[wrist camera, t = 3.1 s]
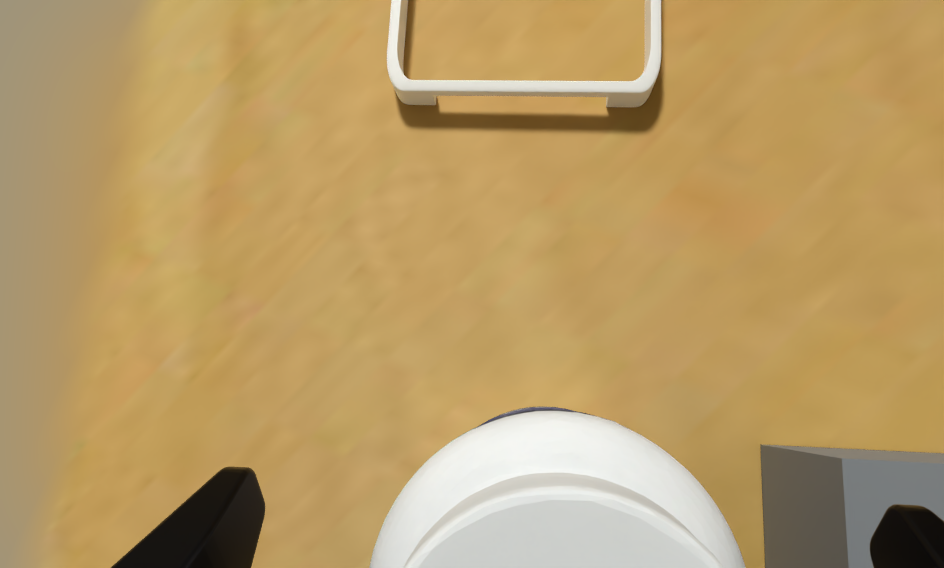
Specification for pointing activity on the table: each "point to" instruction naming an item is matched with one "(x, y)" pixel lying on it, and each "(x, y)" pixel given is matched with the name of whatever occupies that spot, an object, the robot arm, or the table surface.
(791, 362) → the table surface
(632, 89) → the phone case
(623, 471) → the pill bottle
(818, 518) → the slate block
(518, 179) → the table surface
